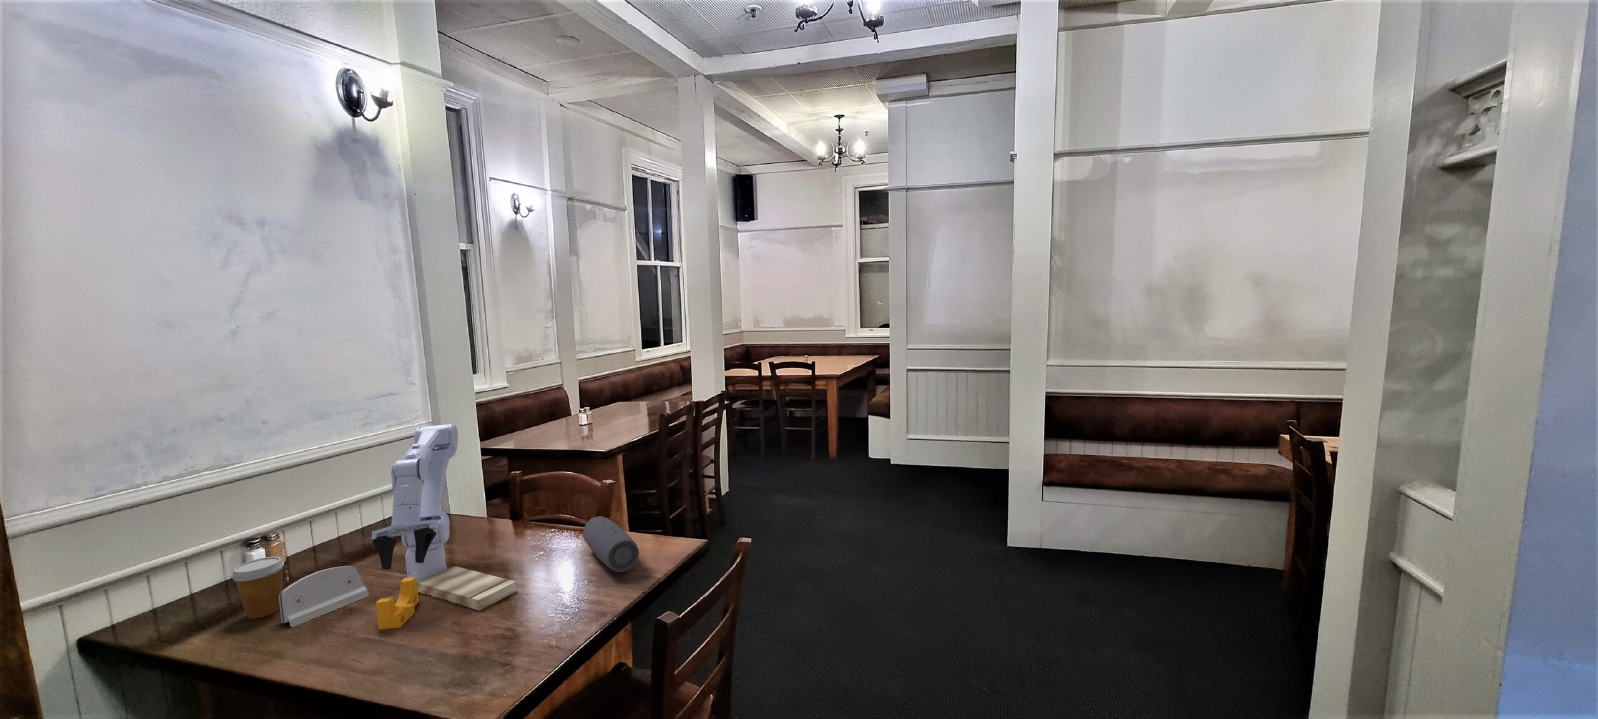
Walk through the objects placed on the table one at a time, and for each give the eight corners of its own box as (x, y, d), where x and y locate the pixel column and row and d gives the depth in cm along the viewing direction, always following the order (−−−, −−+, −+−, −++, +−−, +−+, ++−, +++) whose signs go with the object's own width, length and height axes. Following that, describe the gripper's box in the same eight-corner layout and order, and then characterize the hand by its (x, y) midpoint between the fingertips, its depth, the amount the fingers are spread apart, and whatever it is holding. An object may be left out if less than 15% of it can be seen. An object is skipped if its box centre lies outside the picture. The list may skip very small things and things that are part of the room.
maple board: (417, 591, 154) (416, 582, 154) (455, 574, 163) (454, 565, 162) (479, 610, 143) (478, 599, 142) (516, 591, 152) (515, 581, 151)
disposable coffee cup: (299, 604, 150) (292, 557, 149) (254, 624, 141) (247, 575, 140) (273, 600, 153) (267, 554, 152) (228, 619, 145) (220, 570, 143)
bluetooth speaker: (643, 570, 160) (640, 533, 158) (607, 581, 154) (604, 543, 153) (615, 543, 178) (612, 510, 177) (582, 552, 173) (579, 518, 172)
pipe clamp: (399, 628, 137) (396, 600, 136) (379, 630, 137) (375, 602, 136) (426, 601, 149) (423, 576, 148) (407, 603, 148) (404, 578, 148)
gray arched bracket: (290, 628, 139) (277, 585, 140) (282, 630, 141) (270, 588, 142) (371, 595, 153) (359, 556, 154) (362, 597, 156) (351, 559, 157)
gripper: (365, 510, 144) (359, 570, 138) (427, 498, 144) (424, 557, 139) (384, 515, 150) (380, 572, 145) (444, 503, 151) (441, 560, 146)
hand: (403, 565), depth 142 cm, fingers open, 7 cm apart
